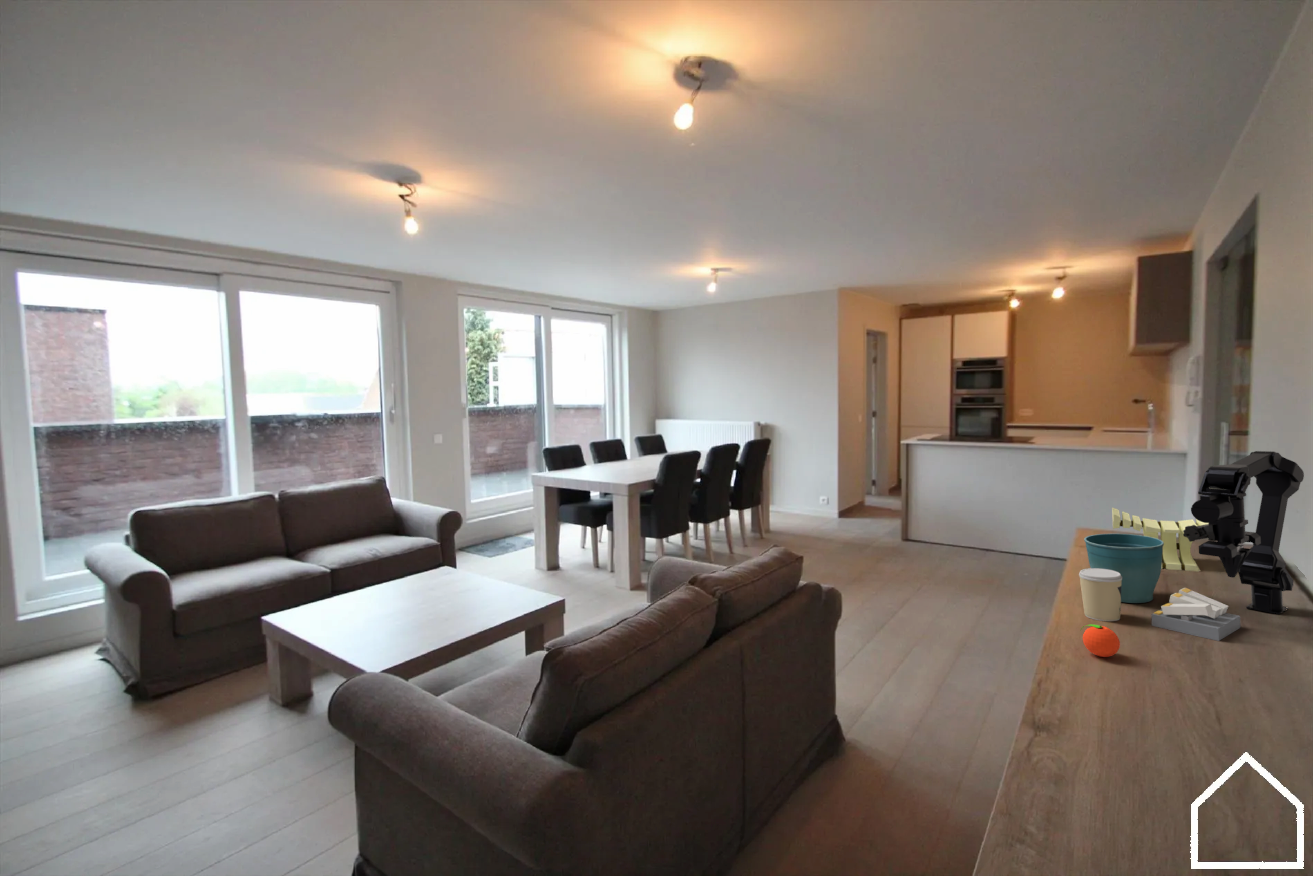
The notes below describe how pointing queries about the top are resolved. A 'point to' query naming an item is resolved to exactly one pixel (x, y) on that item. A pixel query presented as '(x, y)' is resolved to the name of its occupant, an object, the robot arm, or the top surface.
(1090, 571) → the coffee cup
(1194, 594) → the block
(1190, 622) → the console
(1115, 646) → the clementine
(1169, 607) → the block
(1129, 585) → the flower pot
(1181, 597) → the rocker middle
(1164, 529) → the slatted curved stool
